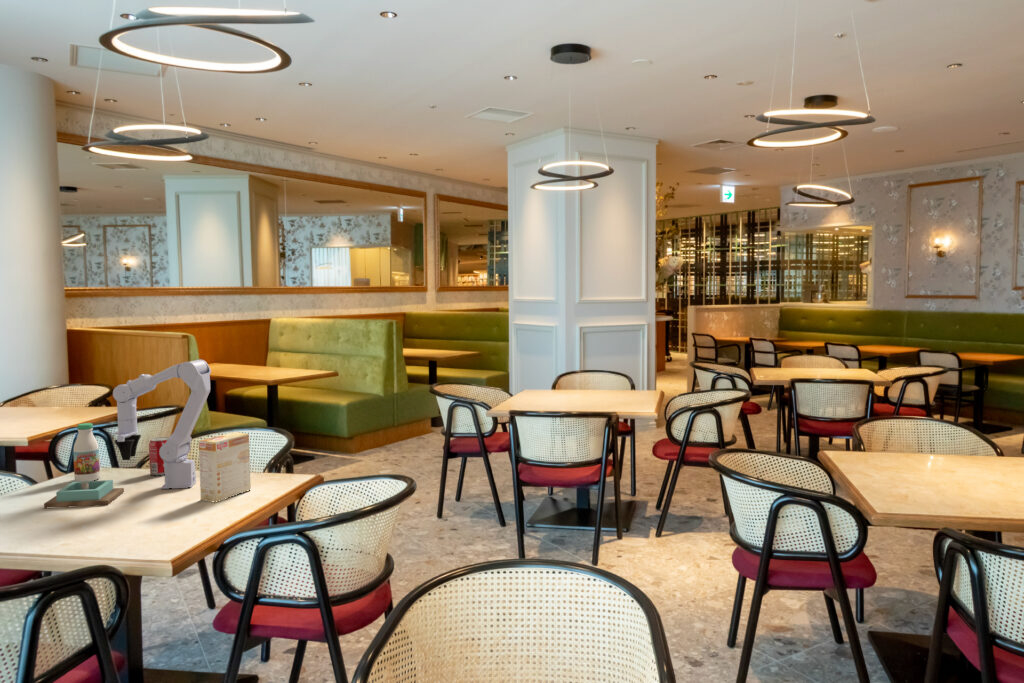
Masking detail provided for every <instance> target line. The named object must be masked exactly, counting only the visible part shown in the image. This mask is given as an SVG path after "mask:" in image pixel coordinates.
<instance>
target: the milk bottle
mask: <svg viewBox="0 0 1024 683" xmlns="http://www.w3.org/2000/svg"><path fill="white" fill-rule="evenodd" d="M76 426H77V432H78V434H77V437H76V440H75V443H74V445H73V473H74V482H81V481H94V480H95V481H98V480H100V478H101V467H100V449H99V448H100V447H99V444H98V441H97V439H96V438H95V436H94V433H93V430H94V428H93V426H94V424H93V423H91V422H84V423H79V424H77V425H76ZM97 479H98V480H97Z"/></svg>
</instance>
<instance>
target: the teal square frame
mask: <svg viewBox="0 0 1024 683" xmlns="http://www.w3.org/2000/svg"><path fill="white" fill-rule="evenodd" d="M84 482H88V483H89V489H88V490H81V483H84ZM113 488H114V480H113V479H108V480H107V479H106V480H105V479H104V480H102V479H101V480H95V481H81V482H76V481H72V482H70V483H68V484H67V485H66V486H64V487H62V488H60V489H59V490H58V491H56V492H55V496H56V498H57V502H63V501H82V500H99V499H101V498H102V497H103V496H104V495H106V494H107V493H108V492H110V491H111V490H112V489H113Z"/></svg>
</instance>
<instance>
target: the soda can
mask: <svg viewBox="0 0 1024 683" xmlns="http://www.w3.org/2000/svg"><path fill="white" fill-rule="evenodd" d="M168 438H169V437H168V436H161V437H160V436H159V437H153V438H152V437H151V438H150V439H149V443H148V457H149V472H150V474H151V475H152V474H153V475H152V476H154V475H161V476H165V475H164V460H163V459H162V458H161V457H160V454H159V451H160V448H161V447H162V446H163V445H164V444H165V443H166V441H167V439H168Z"/></svg>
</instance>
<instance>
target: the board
mask: <svg viewBox="0 0 1024 683" xmlns="http://www.w3.org/2000/svg"><path fill="white" fill-rule="evenodd" d="M88 489H89V483H88V482H84V483H81V490H88ZM123 492H124V493H125V488H124V487H116V488H115V487H113V489H112V490H111V491H110V492H108V493H107V494H106V495H104V496H103V497H102V498H101V499H99V500H82V501H63V502H57V498H56V495H55V496H54V497H52V498H51V499H49V500H47V501H46V502H44V503H43V507H44V508H43V509H48V508H47V507H62V508H70V507H69V506H81V507H92V506H91V505H94V506H93V507H96V506H95V505H99V506H109V505H110V504H111V503H113V502H115V500H117V497H118V496H119V497H120V496H121V495H123V494H124V493H123ZM112 501H113V502H112ZM108 504H109V505H108Z"/></svg>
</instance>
